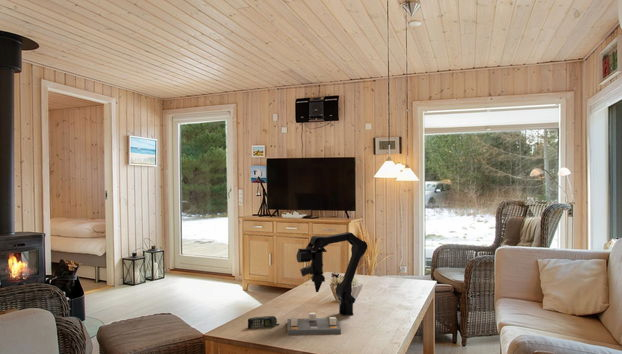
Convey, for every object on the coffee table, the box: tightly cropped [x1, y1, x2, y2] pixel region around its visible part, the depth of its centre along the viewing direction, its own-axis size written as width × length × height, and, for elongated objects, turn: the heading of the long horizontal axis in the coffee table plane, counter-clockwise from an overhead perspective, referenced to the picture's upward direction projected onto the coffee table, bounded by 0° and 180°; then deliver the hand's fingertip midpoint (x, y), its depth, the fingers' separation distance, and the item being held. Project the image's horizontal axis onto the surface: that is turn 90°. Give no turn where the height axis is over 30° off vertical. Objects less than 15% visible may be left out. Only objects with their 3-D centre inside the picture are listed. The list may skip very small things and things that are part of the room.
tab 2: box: [328, 316, 337, 325], centre depth 199 cm, size 3×2×3 cm
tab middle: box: [308, 312, 317, 321], centre depth 206 cm, size 3×2×3 cm
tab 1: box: [290, 317, 299, 326], centre depth 198 cm, size 3×2×3 cm
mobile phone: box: [247, 315, 280, 330], centre depth 202 cm, size 5×3×15 cm
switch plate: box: [286, 317, 342, 336], centre depth 201 cm, size 24×16×2 cm, turn 94°
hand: (316, 292), depth 216 cm, fingers closed
